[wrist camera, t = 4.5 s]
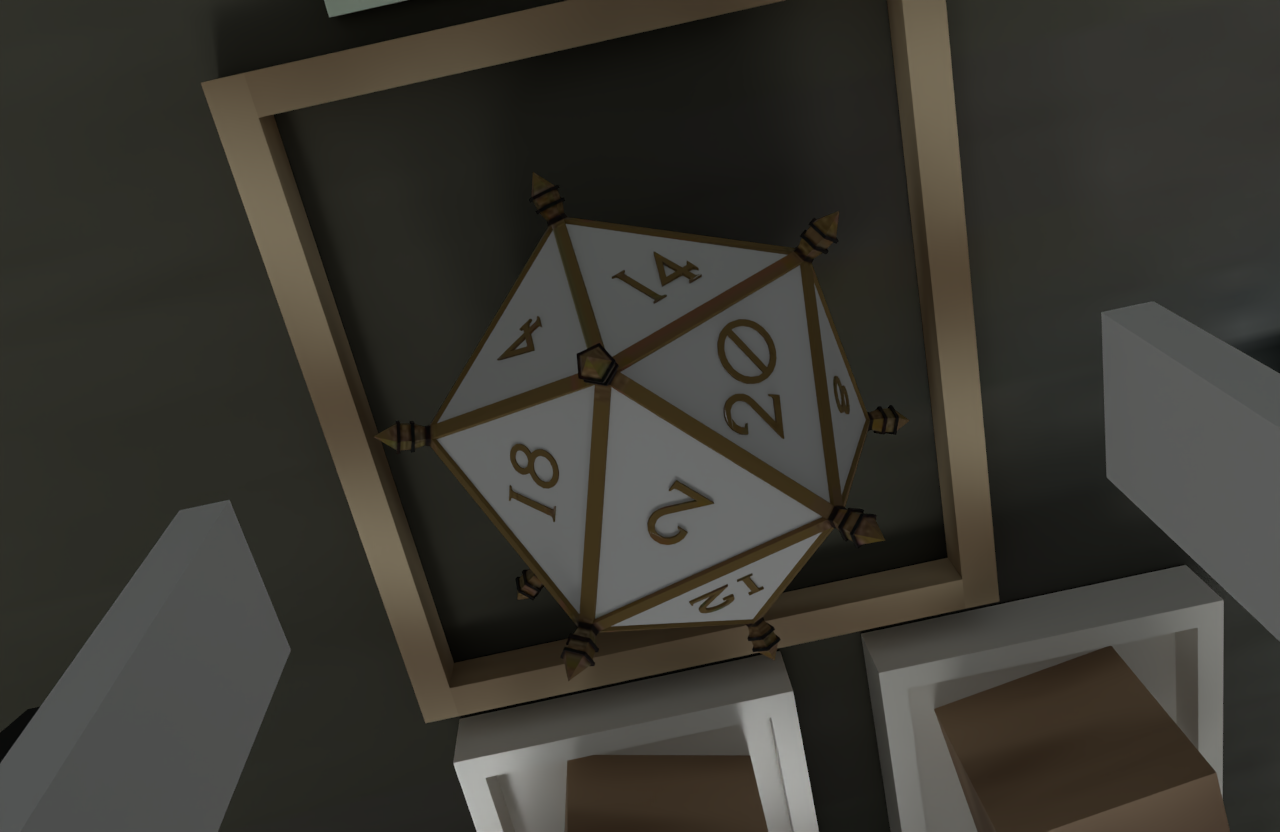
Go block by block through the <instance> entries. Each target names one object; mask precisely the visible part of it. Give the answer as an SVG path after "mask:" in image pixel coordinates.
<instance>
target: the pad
mask: <svg viewBox="0 0 1280 832" xmlns="http://www.w3.org/2000/svg"><path fill="white" fill-rule="evenodd" d="M403 1H408V0H324V2H325V5H326V9H327V12H328V15H329V17H336V16H341V15H345V14H350V13H354V12H359V11H363V10H368V9H372V8H377V7H381V6H385V5H390V4H394V3H399V2H403Z"/></svg>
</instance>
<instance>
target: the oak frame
mask: <svg viewBox="0 0 1280 832" xmlns="http://www.w3.org/2000/svg"><path fill="white" fill-rule="evenodd" d="M780 1H784V0H566V1H561V2H557V3H552V4H548V5H543V6H539V7H534V8H530V9H526V10H521V11H517V12H512V13H508V14H503V15H499V16H494V17H490V18H485V19H481V20H476V21H472V22H467V23H463V24H459V25H454V26H450V27H445V28H441V29H436V30H432V31H427V32H423V33H418V34H414V35H409V36H405V37H400V38H396V39H392V40H387V41H383V42H378V43H374V44H369V45H365V46H360V47H356V48H351V49H347V50H342V51H338V52H334V53H329V54H325V55H320V56H316V57H311V58H307V59H302V60H298V61H293V62H289V63H284V64H280V65H275V66H271V67H267V68H262V69H258V70H253V71H249V72H244V73H240V74H235V75H231V76H226V77H222V78H217V79H214V80H210V81H206V82H202V83H201V85H202V88H203V91H204V94H205V96H206V99H207V102H208V105H209V108H210V111H211V114H212V116H213V119H214V122H215V125H216V128H217V131H218V133H219V136H220V139H221V142H222V145H223V148H224V151H225V153H226V156H227V159H228V162H229V165H230V168H231V170H232V173H233V176H234V179H235V182H236V185H237V188H238V190H239V193H240V196H241V199H242V202H243V205H244V208H245V210H246V213H247V216H248V219H249V222H250V225H251V227H252V230H253V233H254V236H255V239H256V242H257V245H258V247H259V250H260V253H261V256H262V259H263V262H264V264H265V267H266V270H267V273H268V276H269V279H270V282H271V284H272V287H273V290H274V293H275V296H276V299H277V302H278V304H279V307H280V310H281V313H282V316H283V319H284V321H285V324H286V327H287V330H288V333H289V336H290V339H291V341H292V344H293V347H294V350H295V353H296V356H297V358H298V361H299V364H300V367H301V370H302V373H303V376H304V378H305V381H306V384H307V387H308V390H309V393H310V396H311V398H312V401H313V404H314V407H315V410H316V413H317V415H318V418H319V421H320V424H321V427H322V430H323V433H324V435H325V438H326V441H327V444H328V447H329V450H330V452H331V455H332V458H333V461H334V464H335V467H336V470H337V472H338V475H339V478H340V481H341V484H342V487H343V490H344V492H345V495H346V498H347V501H348V504H349V507H350V509H351V512H352V515H353V518H354V521H355V524H356V527H357V529H358V532H359V535H360V538H361V541H362V544H363V547H364V549H365V552H366V555H367V558H368V561H369V564H370V566H371V569H372V572H373V575H374V578H375V581H376V584H377V586H378V589H379V592H380V595H381V598H382V601H383V603H384V606H385V609H386V612H387V615H388V618H389V621H390V623H391V626H392V629H393V632H394V635H395V638H396V641H397V643H398V646H399V649H400V652H401V655H402V658H403V660H404V663H405V666H406V669H407V672H408V675H409V678H410V680H411V683H412V686H413V689H414V692H415V695H416V697H417V700H418V703H419V706H420V709H421V712H422V715H423V717H424V720H425V723H429V722H434V721H439V720H443V719H448V718H453V717H457V716H462V715H467V714H472V713H476V712H481V711H486V710H490V709H495V708H500V707H505V706H509V705H514V704H519V703H523V702H528V701H533V700H538V699H542V698H547V697H552V696H556V695H561V694H566V693H571V692H575V691H580V690H585V689H589V688H594V687H599V686H604V685H608V684H613V683H618V682H622V681H627V680H632V679H637V678H641V677H646V676H651V675H655V674H660V673H665V672H670V671H674V670H679V669H684V668H688V667H693V666H698V665H703V664H707V663H712V662H717V661H721V660H726V659H731V658H736V657H740V656H745V655H750V654H754V653H759V652H753V651H752V648H753V644H752V642H751V641H748V639H747V638H748V636H749V629H748V627H747V626H746V624H734V625H717V626H701V627H684V628H667V629H651V630H634V631H617V632H601V633H598V634H597V636H596V646H597V647H598V648H599V651H598V652H596V653H595V654H594V657H593V661H594V662H595V666H589V667H587V668H586V669H585V670H583V671H582V672H581V673H579V674H578V675H576V676H575V677H574V678H572V679H571V680H570V681H568V678H567V674H566V669H565V664H564V660H563V659H562V658H560V656H561V654H562V652H563V649H564V647H568V645H566V642H567V640H568V639H564V640H559V641H554V642H550V643H545V644H540V645H536V646H531V647H526V648H522V649H517V650H512V651H507V652H503V653H498V654H493V655H489V656H484V657H479V658H475V659H470V660H465V661H461V662H456V663H454V661H453V658H452V655H451V652H450V649H449V646H448V643H447V640H446V637H445V634H444V631H443V628H442V625H441V622H440V619H439V616H438V613H437V610H436V607H435V604H434V601H433V598H432V595H431V592H430V589H429V586H428V582H427V579H426V576H425V573H424V570H423V567H422V564H421V561H420V558H419V555H418V552H417V549H416V546H415V543H414V540H413V537H412V534H411V531H410V528H409V525H408V522H407V519H406V516H405V513H404V510H403V507H402V504H401V501H400V497H399V494H398V491H397V488H396V485H395V482H394V479H393V476H392V473H391V470H390V467H389V464H388V461H387V458H386V455H385V452H384V449H383V446H382V443H381V441H380V440H378V439H376V438H375V437H374V436H375V435H377V434H378V431H377V428H376V425H375V422H374V419H373V416H372V412H371V409H370V406H369V403H368V400H367V397H366V394H365V391H364V388H363V385H362V382H361V379H360V376H359V373H358V370H357V367H356V364H355V361H354V358H353V355H352V352H351V349H350V346H349V343H348V340H347V337H346V334H345V331H344V327H343V324H342V321H341V318H340V315H339V312H338V309H337V306H336V303H335V300H334V297H333V294H332V291H331V288H330V285H329V282H328V279H327V276H326V273H325V270H324V267H323V264H322V261H321V258H320V255H319V252H318V249H317V246H316V242H315V239H314V236H313V233H312V230H311V227H310V224H309V221H308V218H307V215H306V212H305V209H304V206H303V203H302V200H301V197H300V194H299V191H298V188H297V185H296V182H295V179H294V176H293V173H292V170H291V167H290V164H289V161H288V157H287V154H286V151H285V148H284V145H283V142H282V139H281V136H280V133H279V130H278V127H277V124H276V121H275V118H274V114H278V113H282V112H287V111H291V110H296V109H300V108H305V107H309V106H314V105H318V104H323V103H327V102H332V101H336V100H341V99H345V98H350V97H354V96H359V95H363V94H368V93H372V92H377V91H381V90H386V89H390V88H395V87H399V86H403V85H408V84H412V83H417V82H421V81H426V80H430V79H435V78H439V77H444V76H448V75H453V74H457V73H462V72H466V71H471V70H475V69H480V68H484V67H489V66H493V65H498V64H502V63H507V62H511V61H516V60H520V59H524V58H529V57H533V56H538V55H542V54H547V53H551V52H556V51H560V50H565V49H569V48H574V47H578V46H583V45H587V44H592V43H596V42H601V41H605V40H610V39H614V38H619V37H623V36H628V35H632V34H637V33H641V32H646V31H650V30H654V29H659V28H663V27H668V26H672V25H677V24H681V23H686V22H690V21H695V20H699V19H704V18H708V17H713V16H717V15H722V14H726V13H731V12H735V11H740V10H744V9H749V8H753V7H758V6H762V5H767V4H771V3H775V2H780ZM887 5H888V14H889V24H890V33H891V42H892V51H893V60H894V69H895V79H896V88H897V97H898V106H899V115H900V124H901V134H902V143H903V152H904V161H905V170H906V179H907V189H908V198H909V207H910V216H911V225H912V234H913V244H914V253H915V262H916V271H917V280H918V290H919V299H920V308H921V317H922V326H923V335H924V345H925V354H926V363H927V372H928V381H929V390H930V400H931V409H932V418H933V427H934V436H935V445H936V455H937V464H938V473H939V482H940V491H941V500H942V510H943V519H944V528H945V537H946V546H947V555H948V558H944V559H939V560H935V561H930V562H925V563H920V564H916V565H911V566H906V567H902V568H897V569H892V570H888V571H883V572H878V573H874V574H869V575H864V576H859V577H855V578H850V579H845V580H841V581H836V582H831V583H827V584H822V585H817V586H813V587H808V588H803V589H798V590H794V591H789V592H784V593H782V594H781V595H780V596H779V597H778V599H777V600H776V601H775V602H774V604H773V605H772V606H771V607H770V609H769V610H768V611H767V612H766V614H765V615H764V616H763V617H764V620H765V622H766V623H769V624H770V625H771V626H773V627H774V629H775V630H774V631H773V632H774V633H775V635H777V636H778V637H780V639H781V640H780V641H779V642H778V645H777V649H778V648H783V647H787V646H792V645H797V644H802V643H806V642H811V641H816V640H820V639H825V638H830V637H835V636H839V635H844V634H849V633H853V632H858V631H863V630H868V629H872V628H877V627H882V626H886V625H891V624H896V623H900V622H905V621H910V620H915V619H919V618H924V617H929V616H933V615H938V614H943V613H948V612H952V611H957V610H962V609H966V608H971V607H976V606H981V605H985V604H990V603H995V602H999V591H998V580H997V569H996V557H995V546H994V535H993V524H992V512H991V501H990V490H989V479H988V468H987V456H986V445H985V434H984V423H983V411H982V400H981V389H980V378H979V367H978V355H977V344H976V333H975V322H974V311H973V299H972V288H971V277H970V266H969V254H968V243H967V232H966V221H965V210H964V198H963V187H962V176H961V165H960V153H959V142H958V131H957V120H956V109H955V97H954V86H953V75H952V64H951V52H950V41H949V30H948V19H947V8H946V0H887Z"/></svg>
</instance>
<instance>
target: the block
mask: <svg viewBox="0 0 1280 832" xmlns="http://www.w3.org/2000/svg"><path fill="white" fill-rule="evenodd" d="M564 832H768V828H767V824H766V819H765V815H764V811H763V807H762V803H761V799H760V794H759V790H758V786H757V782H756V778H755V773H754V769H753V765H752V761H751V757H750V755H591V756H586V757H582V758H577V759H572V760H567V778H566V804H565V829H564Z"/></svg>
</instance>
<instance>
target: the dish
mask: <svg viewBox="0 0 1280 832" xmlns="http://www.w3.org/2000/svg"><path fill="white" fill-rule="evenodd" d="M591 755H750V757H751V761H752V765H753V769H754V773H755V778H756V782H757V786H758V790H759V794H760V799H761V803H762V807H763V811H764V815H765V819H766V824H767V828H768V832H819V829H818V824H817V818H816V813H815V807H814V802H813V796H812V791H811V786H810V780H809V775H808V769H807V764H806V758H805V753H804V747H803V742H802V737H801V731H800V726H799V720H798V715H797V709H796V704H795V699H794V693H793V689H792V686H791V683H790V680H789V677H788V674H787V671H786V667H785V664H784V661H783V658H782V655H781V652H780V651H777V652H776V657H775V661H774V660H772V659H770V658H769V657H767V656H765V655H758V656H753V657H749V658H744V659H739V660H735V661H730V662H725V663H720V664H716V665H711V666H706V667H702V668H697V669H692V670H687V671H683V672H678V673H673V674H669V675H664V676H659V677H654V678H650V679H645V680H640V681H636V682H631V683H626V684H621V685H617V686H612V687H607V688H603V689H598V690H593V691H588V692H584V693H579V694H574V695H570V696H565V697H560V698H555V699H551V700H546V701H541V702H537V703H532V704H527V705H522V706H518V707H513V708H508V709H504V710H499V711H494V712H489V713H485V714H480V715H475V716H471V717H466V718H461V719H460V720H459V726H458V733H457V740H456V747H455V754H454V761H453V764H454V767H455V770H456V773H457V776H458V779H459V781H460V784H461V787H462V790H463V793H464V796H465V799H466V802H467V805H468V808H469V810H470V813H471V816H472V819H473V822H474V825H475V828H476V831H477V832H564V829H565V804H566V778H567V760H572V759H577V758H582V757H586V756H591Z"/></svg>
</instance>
